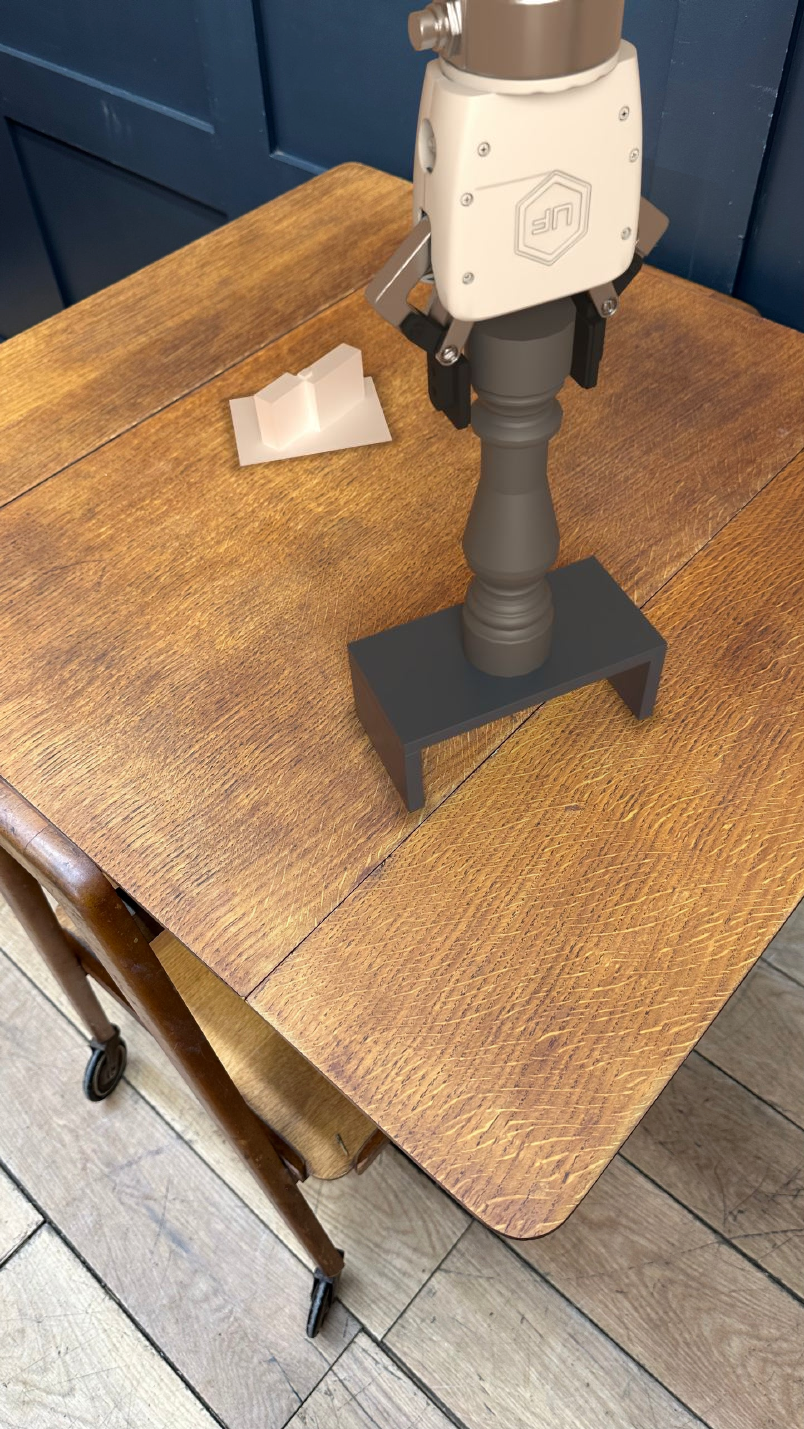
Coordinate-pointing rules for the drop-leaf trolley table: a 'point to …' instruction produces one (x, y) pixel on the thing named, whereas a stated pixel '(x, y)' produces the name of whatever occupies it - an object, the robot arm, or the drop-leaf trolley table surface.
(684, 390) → the drop-leaf trolley table surface
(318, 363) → the napkin holder
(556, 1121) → the drop-leaf trolley table surface
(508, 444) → the candle holder
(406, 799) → the shelf
